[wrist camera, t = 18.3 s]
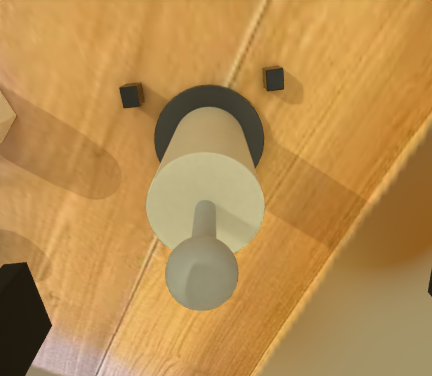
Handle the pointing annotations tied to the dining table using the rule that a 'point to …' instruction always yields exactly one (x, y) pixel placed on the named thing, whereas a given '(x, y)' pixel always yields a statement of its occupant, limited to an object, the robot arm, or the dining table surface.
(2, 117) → the jar
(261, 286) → the dining table surface
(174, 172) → the towel roll
